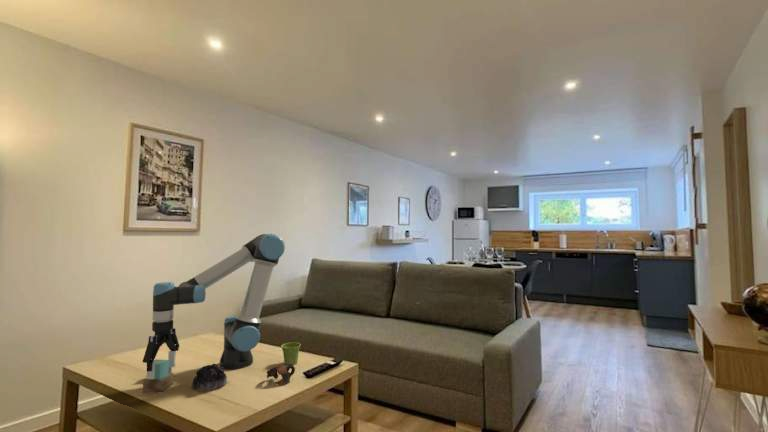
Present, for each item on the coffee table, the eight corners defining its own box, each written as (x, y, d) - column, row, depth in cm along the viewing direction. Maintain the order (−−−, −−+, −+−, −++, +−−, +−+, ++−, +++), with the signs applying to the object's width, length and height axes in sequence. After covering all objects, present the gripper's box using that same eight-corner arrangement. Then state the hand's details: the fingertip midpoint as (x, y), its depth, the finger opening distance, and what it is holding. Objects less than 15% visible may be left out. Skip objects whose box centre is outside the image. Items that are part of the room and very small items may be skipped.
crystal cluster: (203, 380, 167) (200, 358, 166) (234, 378, 166) (231, 355, 166) (186, 396, 153) (184, 371, 153) (220, 393, 153) (217, 369, 152)
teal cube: (168, 374, 159) (168, 359, 159) (159, 379, 153) (159, 364, 154) (155, 374, 159) (156, 359, 160) (146, 379, 154) (147, 364, 154)
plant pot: (276, 364, 184) (277, 346, 184) (288, 358, 193) (288, 341, 193) (293, 367, 181) (293, 348, 181) (304, 361, 189) (304, 343, 190)
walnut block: (173, 385, 160) (173, 373, 160) (163, 393, 152) (164, 380, 153) (153, 385, 160) (153, 373, 160) (142, 393, 152) (143, 381, 152)
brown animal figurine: (274, 389, 156) (266, 370, 158) (269, 392, 163) (262, 374, 166) (300, 375, 163) (293, 357, 166) (295, 379, 171) (288, 361, 173)
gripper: (172, 313, 170) (171, 362, 169) (132, 327, 145) (131, 384, 144) (188, 314, 170) (187, 362, 169) (151, 328, 145) (150, 384, 144)
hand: (161, 372), depth 157 cm, fingers open, 13 cm apart
